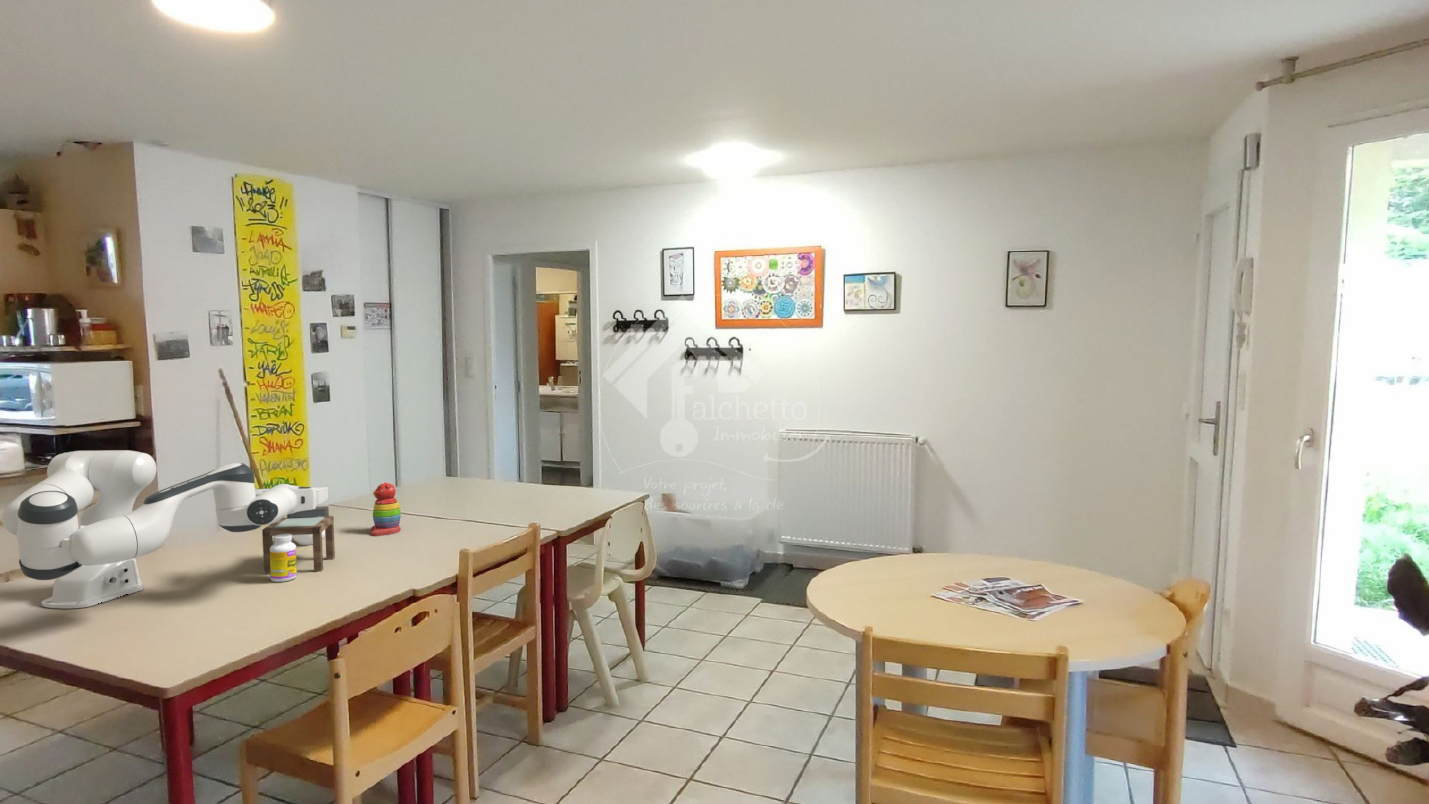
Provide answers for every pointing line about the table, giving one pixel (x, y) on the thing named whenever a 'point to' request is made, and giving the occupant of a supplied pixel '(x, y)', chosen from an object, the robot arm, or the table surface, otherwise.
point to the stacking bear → (385, 511)
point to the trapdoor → (305, 518)
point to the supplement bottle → (283, 559)
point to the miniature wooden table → (316, 530)
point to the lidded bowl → (306, 538)
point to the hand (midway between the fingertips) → (298, 490)
